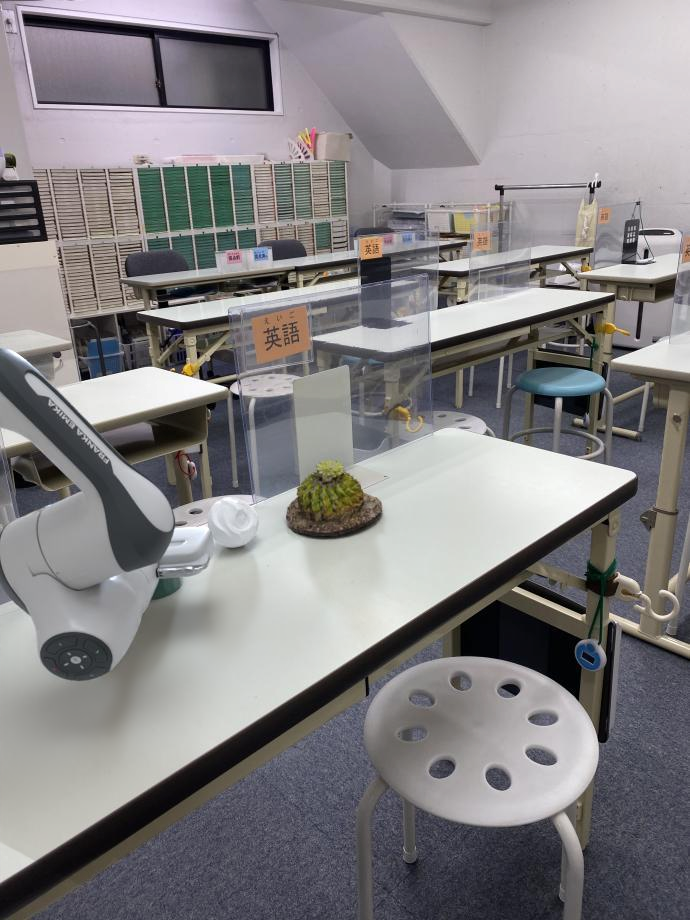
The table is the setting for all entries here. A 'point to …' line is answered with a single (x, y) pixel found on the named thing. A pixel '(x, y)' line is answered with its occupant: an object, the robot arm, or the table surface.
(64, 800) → the table surface
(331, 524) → the cactus
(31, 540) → the robot arm
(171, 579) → the green round container
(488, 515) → the table surface
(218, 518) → the white swirled ball
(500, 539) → the table surface
